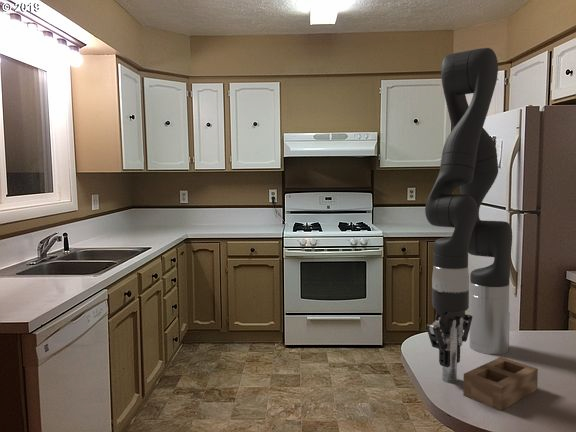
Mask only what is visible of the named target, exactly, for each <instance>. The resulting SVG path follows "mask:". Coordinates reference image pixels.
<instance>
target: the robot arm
mask: <svg viewBox="0 0 576 432" xmlns="http://www.w3.org/2000/svg"><path fill="white" fill-rule="evenodd" d="M440 75H441V76H440V77H441V85H442V89H443V94H444V99H445V104H446V108H447V112H448V115H449V120H450V122H449V123H450V127H451V131H450V132H449V135H448V136H447V137H446V139H445V143H444V145H443V149H442V154H441V159H440V167H439V172H438V175H437V178H436V179H435V182H434V185H433V187H432V189H431V191H430V193H429V195H428V197H427V200H426V202H425V208H424V212H425V213H424V214H425V217H426V220H427V223H429V224H430V225H431V226H433V227H443V228H444V227H445V228H453V229H454V231H453V233H452V235H451V236H448V237H442V238H438V239H436V240H435V241H434V243H433V268H432V274H431V275H432V277H431V305H432V307H433V308H434V309H435V311H436V313H435V315H434V316H435V317H434V321H433V322H432V324H430V323H427V324H426V331H427V333H428V338H429V340H430V344H431V347H432V348H435V349H438V363H439V365H440V366H441V367H442V366H444V367H449V366H450V344H451V340H453V336H454V328H455V327H457V364H458V363H460V362H461V347H462V346H463V343H464V342H467V340H468V338H469V343H468V344H469V348H470V349H471V350H473V351H475V352H478V353H482V354H485V355H486V354H487V355H503V354H507V353H508V352H509V348H510V327H511V326H510V325H511V324H510V322H511V321H510V320H511V319H510V318H511V317H510V316H511V314H510V277H511V276H510V275H511V260H512V249H513V248H512V246H513V245H512V244H513V229H512V226H511V224H510V223H509V222H508V221H502V220H501V221H500V220H482V219H481V218H480V208H481V205H482V203H483V201H484V199H485V198H486V196H487V195H488V194H489V193H488V192H490V190H491V188H492V187H493V185H494V183H495V181H496V179H497V177H498V174H499V163H498V153H497V152H498V151H497V146H496V144H495V141H494V140H493V138H492V136H491V135H489V133H488V132H487V130H486V129H485V128H484V125H485V121H486V118H487V115H488V112H489V109H490V105H491V102H492V98H493V97H494V96H493V95H494V92H495V87H496V85H497V79H498V75H499V60H498V58H497V54H496V53H495V51H494V50H493V48H491V47H484V48H483V47H482V48H475V49H471V50H470V49H469V50H465V51H459V52H454V53H450V54H448V55H445V56H444V58H443V60H442V62H441V67H440ZM469 94H473V95H472V98H471V100H470V103H469V102H468V100H467V96H466V95H469ZM468 103H469V104H468ZM457 188H459V191H460V194H453V192H454V191H455V190H456V189H457ZM469 255H471V256H477V257H484V258H485V257H487V258H493V259H494V260H493V263H491V264H490V265H487V266H485V267H480V268H476V269H473V270H471V271H470V273H469ZM468 309H469V314H466V311H467V310H468ZM443 333H445V334H448V336H447V335H444V334H443ZM468 336H469V337H468ZM443 339H445V340H446V343H445V344H444V341H443Z"/></svg>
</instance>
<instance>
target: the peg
mask: <svg viewBox="0 0 576 432" xmlns="http://www.w3.org/2000/svg"><path fill="white" fill-rule="evenodd" d="M443 334H444V335H447V336H448V334H445V333H443ZM443 341H444V344H445V343H446V340H445V339H443ZM441 367H442V376H441V377H442V381H444V382H446V383H448V384H449V383H451V384H452V383H453V384H454V383H456V382H457V381H458V363H457V327H455V328H454V336H453V340H451V344H450V366H449V367H444V366H441Z"/></svg>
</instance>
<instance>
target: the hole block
mask: <svg viewBox="0 0 576 432" xmlns="http://www.w3.org/2000/svg"><path fill="white" fill-rule="evenodd" d="M538 371H539V368H537V367H534V366H530V365H527V364H525V363H522V362H521V363H520V362H518V361H514V360H511V359H509V358H506V357H502V356H500V357H497V358H495V359H493V360H490V361H489V362H486V363H484V364H482V365H479V366H478V367H476V368H473V369H471V370H469V371H466V372H464V373H463V384H462V386H463V388H462V390H463V396H464V397H468V398H470V399H471V400H474V401H477V402H480V403H481V404H484V405H486V406H489V407H491V408H492V409H496V410H498V411H503V410H505V409H506V408H508V407H511V406H512V405H514V404H515V403H517V402H519V401H520V400H522V399H523V398H526V397H527V396H529V395H531V394H533V393H534V392H536V391H537V390H538V379H539V377H538V374H539V372H538Z"/></svg>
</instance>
